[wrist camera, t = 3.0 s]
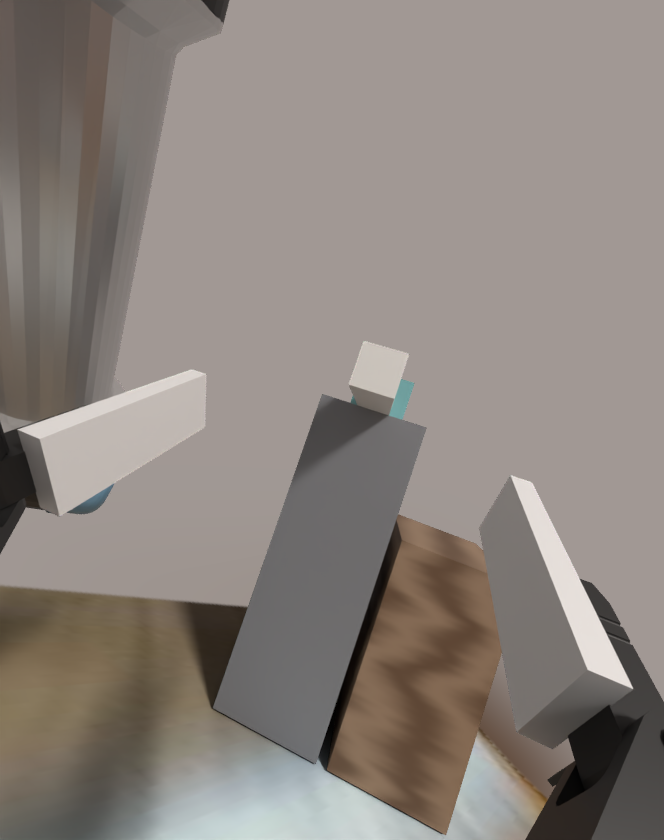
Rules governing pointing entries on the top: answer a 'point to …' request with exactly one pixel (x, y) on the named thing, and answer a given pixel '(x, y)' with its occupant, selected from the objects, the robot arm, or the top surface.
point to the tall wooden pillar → (418, 675)
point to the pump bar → (381, 380)
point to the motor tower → (319, 575)
